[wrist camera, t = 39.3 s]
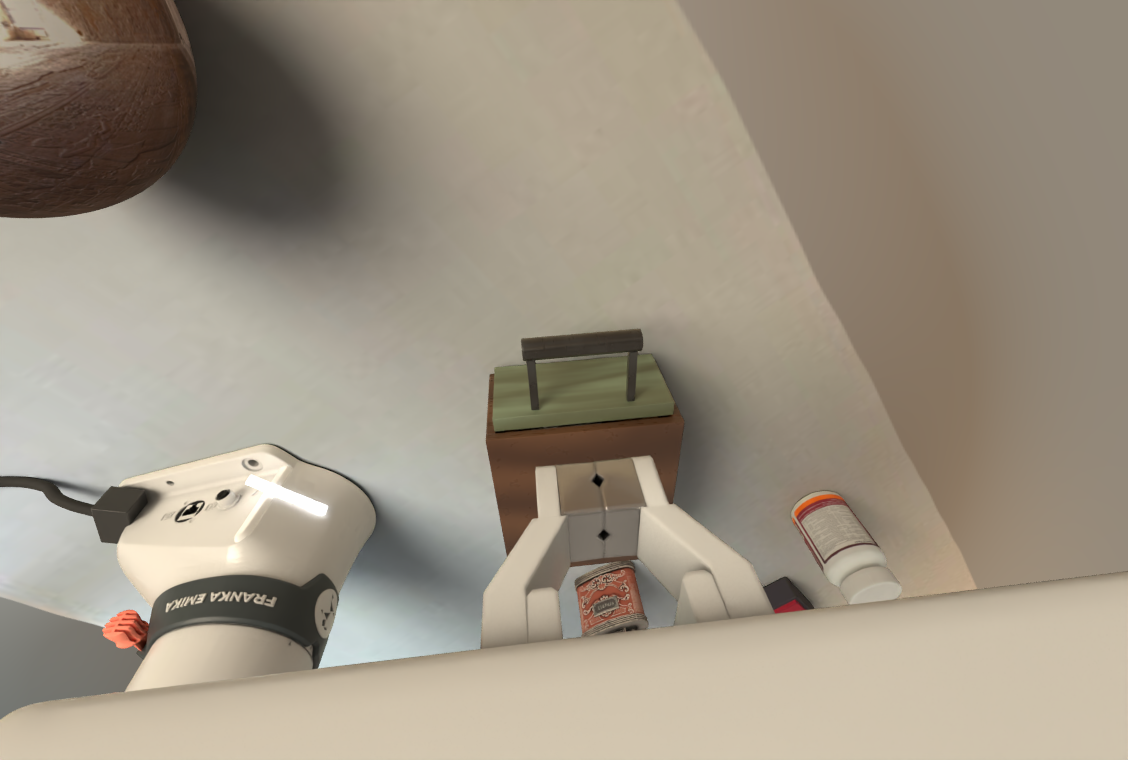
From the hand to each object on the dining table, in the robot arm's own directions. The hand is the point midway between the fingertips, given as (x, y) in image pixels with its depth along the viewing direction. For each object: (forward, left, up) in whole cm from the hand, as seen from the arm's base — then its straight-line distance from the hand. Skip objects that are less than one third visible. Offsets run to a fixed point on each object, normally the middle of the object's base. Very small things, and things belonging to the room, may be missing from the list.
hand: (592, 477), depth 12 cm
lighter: (+5, -45, -25) cm, 52 cm away
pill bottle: (+30, -36, -25) cm, 53 cm away
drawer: (+2, -17, -24) cm, 30 cm away
